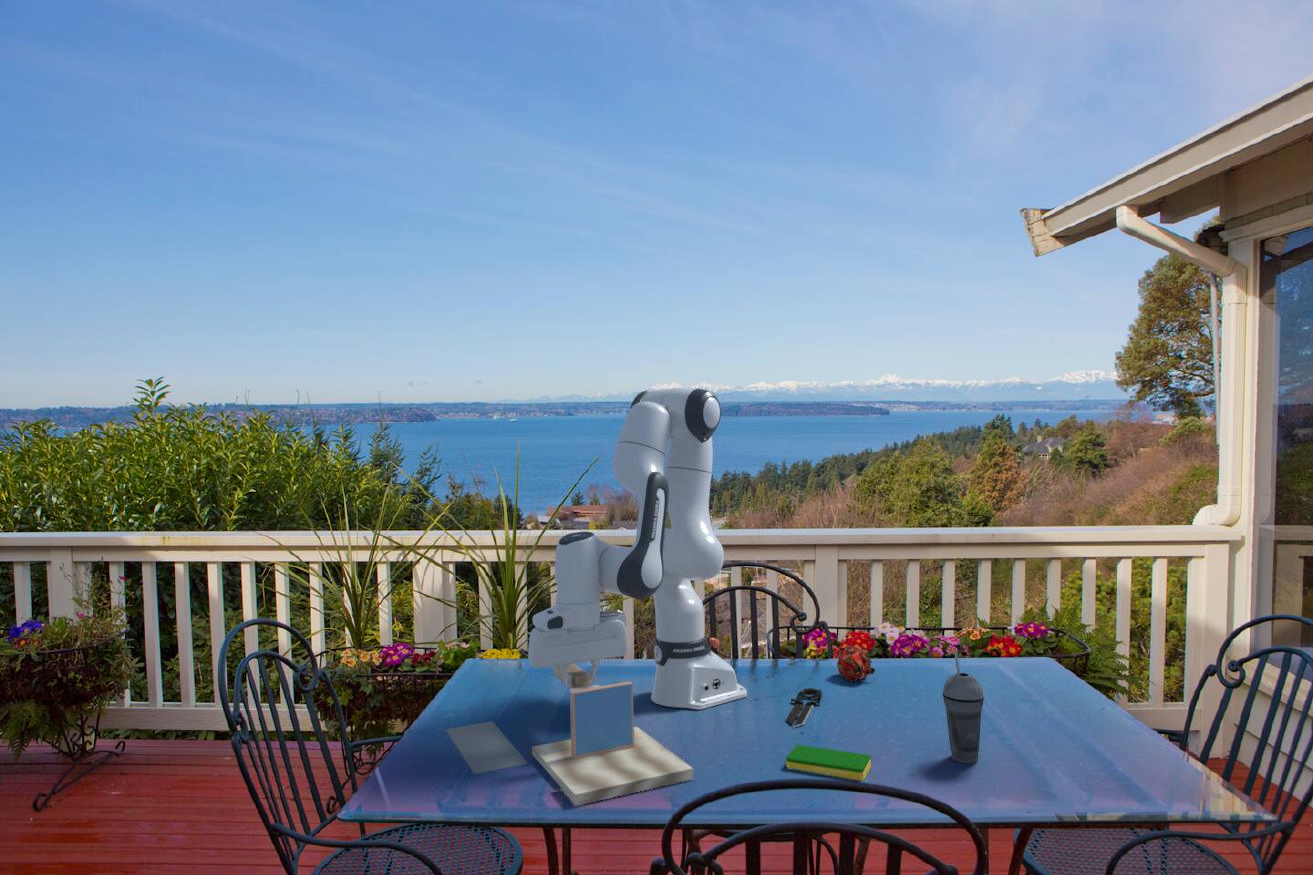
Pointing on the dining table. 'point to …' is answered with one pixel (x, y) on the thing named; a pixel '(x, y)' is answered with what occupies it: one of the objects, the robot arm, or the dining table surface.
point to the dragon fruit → (854, 663)
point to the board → (612, 769)
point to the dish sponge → (829, 762)
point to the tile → (601, 719)
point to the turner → (575, 677)
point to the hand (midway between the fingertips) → (579, 683)
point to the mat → (485, 747)
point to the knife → (807, 709)
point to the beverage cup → (963, 714)
